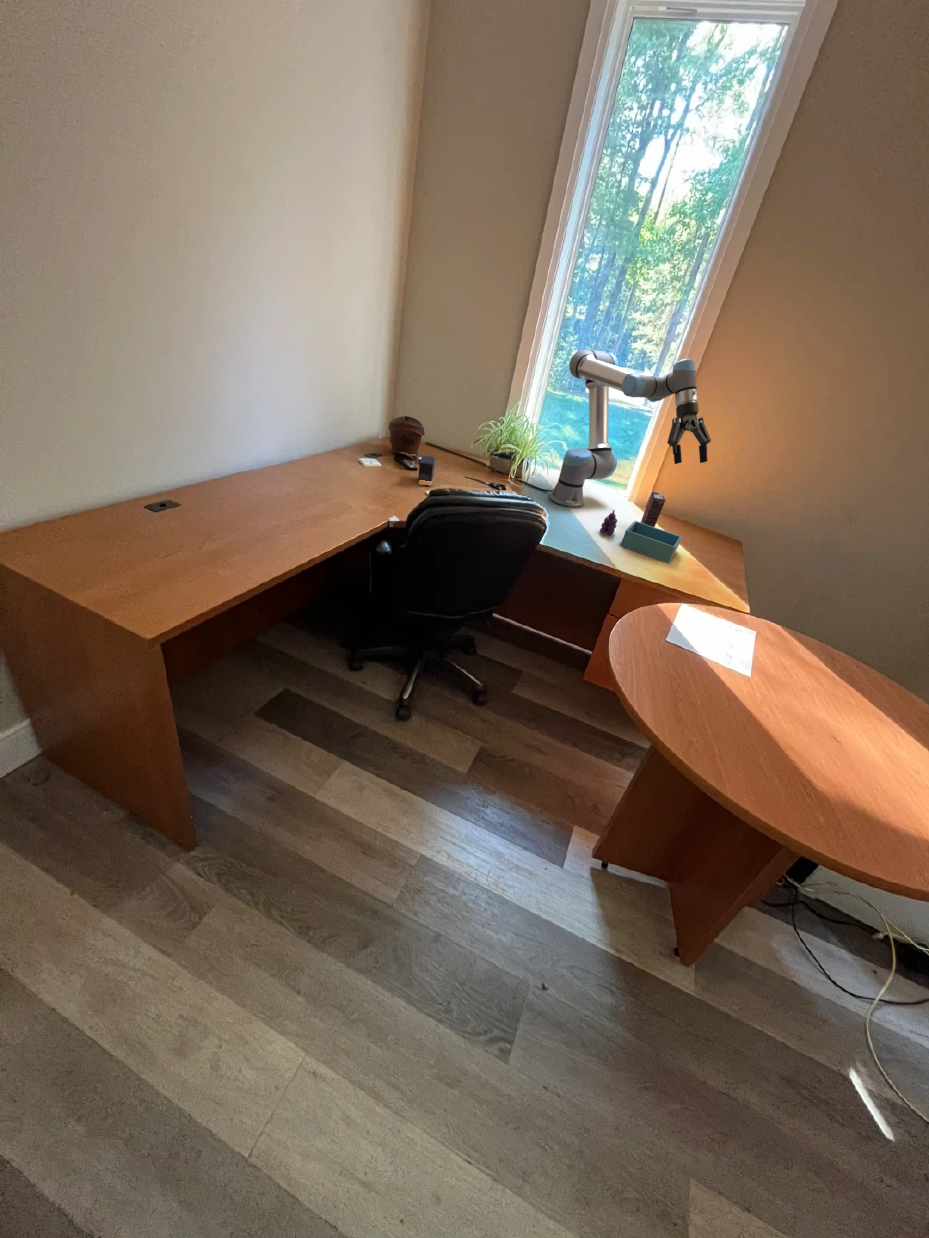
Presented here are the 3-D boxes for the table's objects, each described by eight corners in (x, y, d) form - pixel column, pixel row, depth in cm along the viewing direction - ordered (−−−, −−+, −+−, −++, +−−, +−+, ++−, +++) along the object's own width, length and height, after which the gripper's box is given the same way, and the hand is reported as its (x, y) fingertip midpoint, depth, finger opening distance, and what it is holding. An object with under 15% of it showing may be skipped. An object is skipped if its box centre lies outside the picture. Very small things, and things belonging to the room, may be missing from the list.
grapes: (598, 533, 204) (605, 509, 198) (602, 529, 208) (609, 506, 202) (610, 537, 202) (618, 514, 196) (614, 533, 206) (622, 510, 200)
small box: (419, 477, 227) (421, 454, 221) (433, 479, 228) (436, 456, 222) (416, 484, 219) (419, 461, 213) (431, 487, 219) (433, 464, 213)
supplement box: (651, 535, 211) (665, 500, 202) (640, 532, 211) (654, 497, 202) (649, 527, 218) (663, 493, 209) (639, 525, 218) (651, 491, 209)
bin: (620, 545, 197) (625, 530, 193) (629, 535, 207) (634, 520, 203) (668, 563, 190) (675, 547, 186) (675, 551, 200) (682, 536, 196)
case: (407, 446, 263) (410, 411, 253) (429, 458, 252) (433, 422, 241) (379, 449, 253) (380, 412, 242) (400, 461, 241) (403, 424, 231)
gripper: (670, 400, 174) (675, 461, 176) (718, 401, 184) (722, 459, 186) (654, 407, 180) (659, 466, 183) (701, 408, 191) (705, 464, 193)
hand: (691, 462), depth 184 cm, fingers open, 13 cm apart
